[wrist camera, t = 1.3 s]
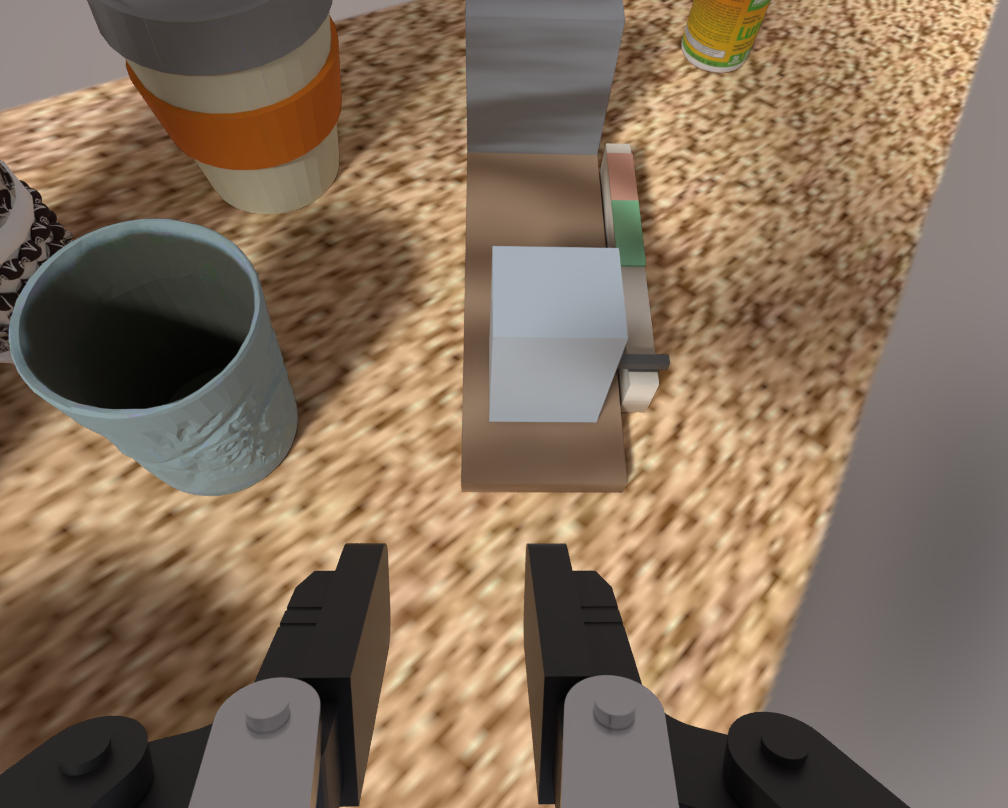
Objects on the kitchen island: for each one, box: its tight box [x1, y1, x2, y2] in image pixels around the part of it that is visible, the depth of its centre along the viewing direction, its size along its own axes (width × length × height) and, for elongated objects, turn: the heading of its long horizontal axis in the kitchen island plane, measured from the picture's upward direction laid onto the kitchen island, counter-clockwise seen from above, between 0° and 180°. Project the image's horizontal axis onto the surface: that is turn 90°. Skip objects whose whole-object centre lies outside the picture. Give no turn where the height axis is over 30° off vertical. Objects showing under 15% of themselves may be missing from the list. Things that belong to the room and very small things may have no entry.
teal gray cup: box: [9, 219, 298, 496], centre depth 34 cm, size 10×10×12 cm
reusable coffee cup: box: [87, 0, 342, 214], centre depth 42 cm, size 13×13×15 cm
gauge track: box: [461, 0, 659, 492], centre depth 40 cm, size 28×11×12 cm, turn 1°
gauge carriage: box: [489, 246, 670, 422], centre depth 36 cm, size 8×10×9 cm
